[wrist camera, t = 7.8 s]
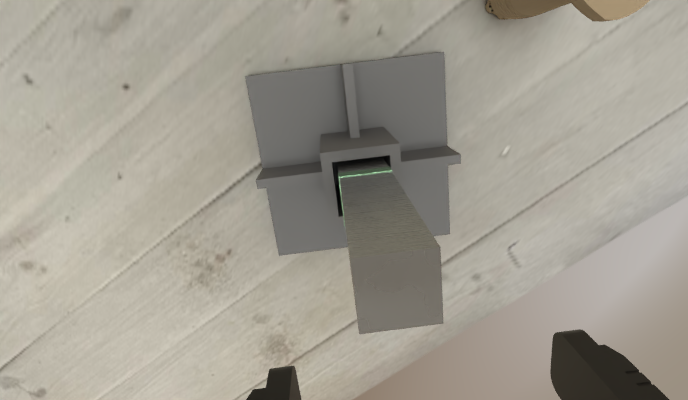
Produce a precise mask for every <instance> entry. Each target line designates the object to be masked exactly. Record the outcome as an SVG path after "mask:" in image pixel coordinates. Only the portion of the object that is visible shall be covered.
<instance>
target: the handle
mask: <svg viewBox="0 0 688 400" xmlns="http://www.w3.org/2000/svg"><path fill="white" fill-rule="evenodd" d="M649 1H650V0H488V2H487V4H486V10H487V12H488V13H493V14H495V15H496V16H497V17H498V18H499V19H522V18H528V17H532V16H536V15H539V14H542V13H544V12H547V11H550V10H552V9H555V8H558V7H560V6H563V5H566V4H569V3H572V4H573V5H574V6H575V7H576V8H577V9H578V10H579V11H580V12H581V13H582V14H584V15H585V16H586V17H588V18H589V19H591V20H592V21H610V20H617V19H621V18H624V17H627V16H629V15H630V14H632V13H634V12H636V11H637V10H639V9H640V8H642V7H643V6H644V5H645V4H646V3H647V2H649Z"/></svg>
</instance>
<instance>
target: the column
mask: <svg viewBox="0 0 688 400" xmlns="http://www.w3.org/2000/svg"><path fill="white" fill-rule="evenodd" d="M337 166H338V178H339V186H340V194H341V202H342V210H343V218H344V226H345V228H346V236H347V244H348V251H349V259H350V266H351V274H352V282H353V289H354V297H355V305H356V312H357V320H358V328H359V334H365V333H373V332H380V331H388V330H396V329H404V328H412V327H419V326H427V325H435V324H443V302H442V277H441V252H440V246H439V244H438V243H437V241H436V240H435V238H434V237H433V235H432V233H431V232H430V230H429V229H428V227H427V226H426V224H425V223H424V221H423V219H422V218H421V216H420V215H419V213H418V212H417V210H416V208H415V207H414V205H413V204H412V202H411V201H410V199H409V198H408V196H407V194H406V193H405V191H404V190H403V188H402V187H401V185H400V183H399V182H398V180H397V179H396V177H395V176H394V174H393V172H392V169H391V168H390V167H389V166H388V165H387V163H386V162H385V160H384V158H383V157H382V156H379V157H371V158H363V159H355V160H347V161H339V162H337Z"/></svg>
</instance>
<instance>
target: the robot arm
mask: <svg viewBox="0 0 688 400" xmlns="http://www.w3.org/2000/svg"><path fill="white" fill-rule="evenodd" d="M551 379H552V383H553V386H554V388H555V391H556V392H557V394H558V396H559V397H560V398H561V400H669V399H668V398H667V397H666V396H665V395H664V394H663V393H662V392H661V391H660V390H659V389H658V388H657V387H656V386H655V385H652V384H651V382H650V380H648V379H647V378H646V377H645V376H644V375H643V374H642V373H639V370H638V369H637V368H636V367H635V366H634V365H633V364H632V363H631V362H630V361H629V360H628V359H627V358H626V357H624V356H623V355H622V354H620V353H618V352H616V351H615V350H613V349H611V348H610V347H608V346H606V345H598V344H597V343H596V342H595V341H594V340H593V339H592V338H591V337H590V336H589V335H588V334H587V333H586V332H585V331H583V330H572V331H564V332H557V333H555V334H554V336H553V344H552V358H551ZM246 400H301V395H300V390H299V385H298V380H297V375H296V370H295V367H294V366H288V367H280V368H273V369H270V370H269V374H268V379H267V385H266V388H262V389H254V390H253V391H252V392H251V393H250V395H249V396H248V398H247V399H246Z"/></svg>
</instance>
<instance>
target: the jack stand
mask: <svg viewBox="0 0 688 400" xmlns="http://www.w3.org/2000/svg"><path fill="white" fill-rule="evenodd" d="M245 78H246V83H247V88H248V94H249V99H250V104H251V110H252V115H253V120H254V125H255V131H256V136H257V141H258V147H259V152H260V157H261V163H262V168H263V169H262V171H261V172H260V174H259V176H258V178H257V179H256V183H257V188H258V189H261V188H266V189H267V194H268V200H269V205H270V210H271V215H272V221H273V226H274V231H275V237H276V242H277V247H278V253H279V256H280V255H288V254H296V253H304V252H312V251H320V250H328V249H336V248H344V247H348V244H347V236H346V228H345V226H344V218H343V210H342V202H341V194H340V186H339V178H338V166H337V162H339V161H347V160H355V159H363V158H371V157H379V156H382V157H383V158H384V160H385V162H386V163H387V165H388V166H389V167H390V168H391V169H392V172H393V174H394V176H395V177H396V179H397V180H398V182H399V183H400V185H401V187H402V188H403V190H404V191H405V193H406V194H407V196H408V198H409V199H410V201H411V202H412V204H413V205H414V207H415V208H416V210H417V212H418V213H419V215H420V216H421V218H422V219H423V221H424V223H425V224H426V226H427V227H428V229H429V230H430V232H431V233H432V235H433V236H439V235H447V234H450V222H449V190H448V165H453V164H461V155H460V154H459V153H457V152H456V151H454V150H453V149H451V148H450V147H448V146H447V125H446V93H445V60H444V52H438V53H430V54H422V55H413V56H405V57H397V58H389V59H381V60H373V61H365V62H356V63H348V64H340V65H332V66H324V67H316V68H308V69H299V70H291V71H283V72H275V73H267V74H259V75H251V76H245Z"/></svg>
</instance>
